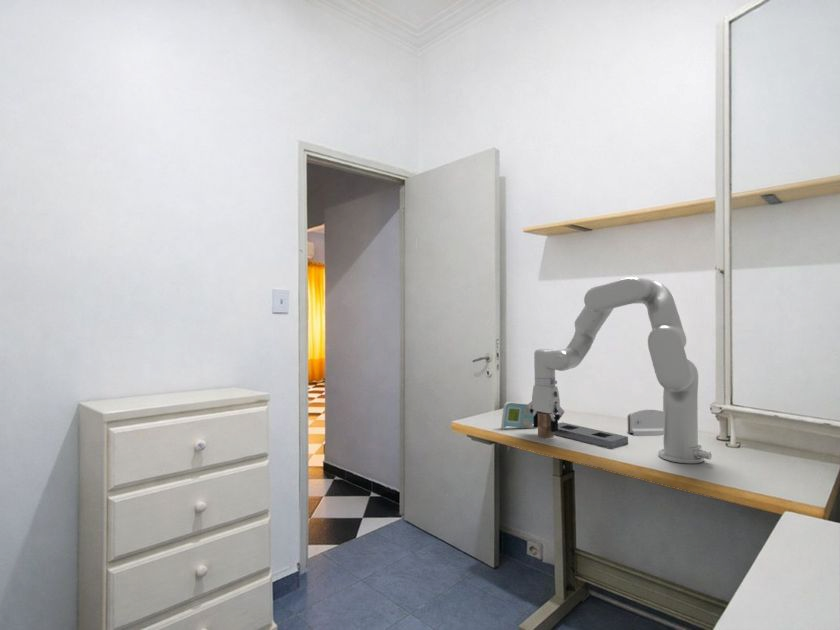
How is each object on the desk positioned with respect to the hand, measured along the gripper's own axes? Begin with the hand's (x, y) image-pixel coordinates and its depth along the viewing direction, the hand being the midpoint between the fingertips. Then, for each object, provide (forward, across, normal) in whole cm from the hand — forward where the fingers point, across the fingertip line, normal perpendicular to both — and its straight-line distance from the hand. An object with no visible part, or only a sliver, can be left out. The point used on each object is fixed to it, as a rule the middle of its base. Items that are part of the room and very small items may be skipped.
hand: (545, 428), depth 177 cm
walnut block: (+3, 0, 0) cm, 3 cm away
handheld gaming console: (+3, +15, -2) cm, 15 cm away
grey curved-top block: (+3, -21, -35) cm, 41 cm away
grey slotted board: (+3, -10, -10) cm, 14 cm away
